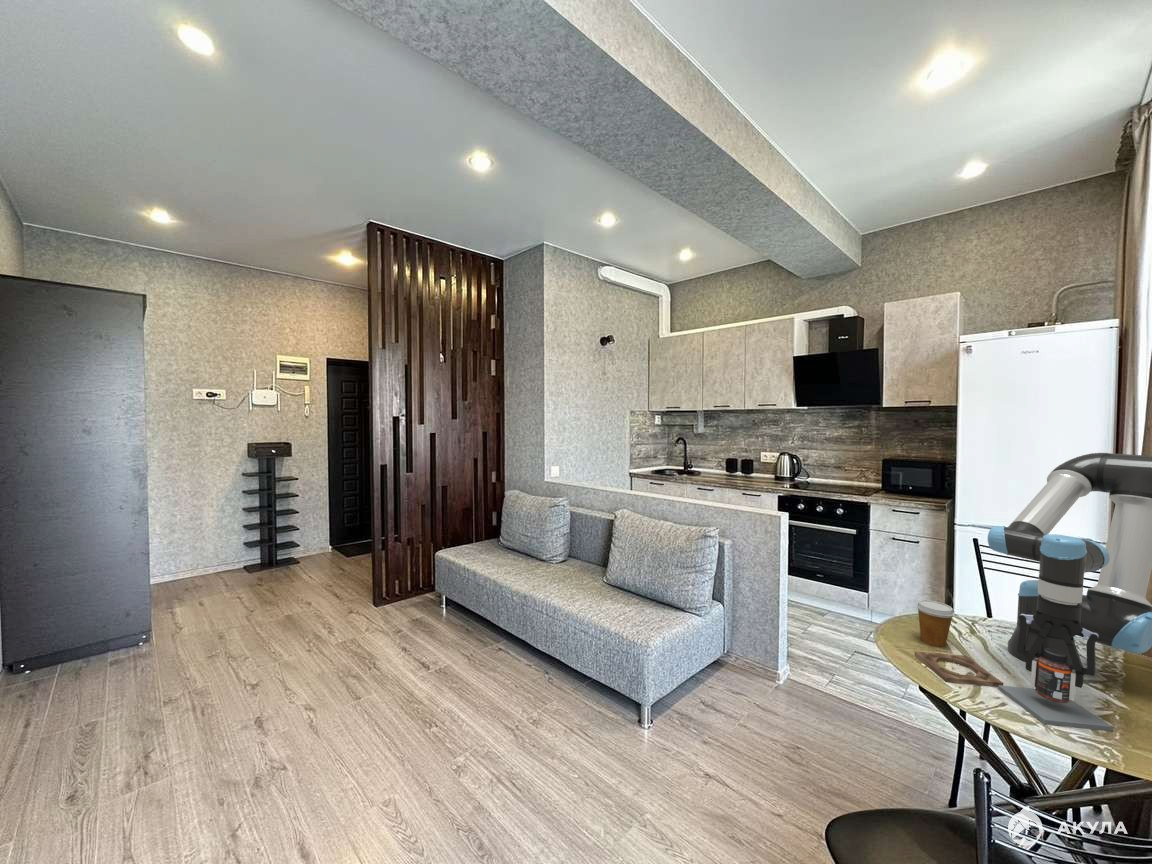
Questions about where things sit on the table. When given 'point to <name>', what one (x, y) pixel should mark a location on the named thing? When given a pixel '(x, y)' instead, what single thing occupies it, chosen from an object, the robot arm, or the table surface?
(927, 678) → the table surface
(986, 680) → the socket board
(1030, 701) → the slate pad
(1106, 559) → the robot arm
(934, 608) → the disposable coffee cup
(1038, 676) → the supplement bottle
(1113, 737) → the table surface
